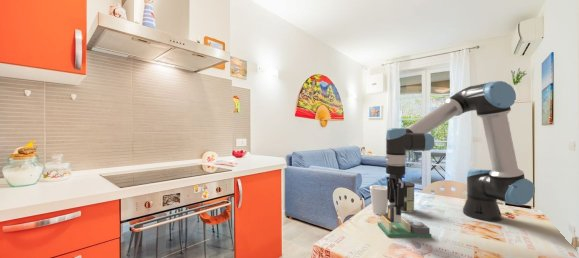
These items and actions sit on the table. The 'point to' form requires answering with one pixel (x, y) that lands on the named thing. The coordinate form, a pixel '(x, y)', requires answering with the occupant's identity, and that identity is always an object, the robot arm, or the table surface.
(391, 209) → the plug
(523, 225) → the table surface
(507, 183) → the robot arm
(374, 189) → the foam cup
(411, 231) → the board
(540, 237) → the table surface
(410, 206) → the coffee can
